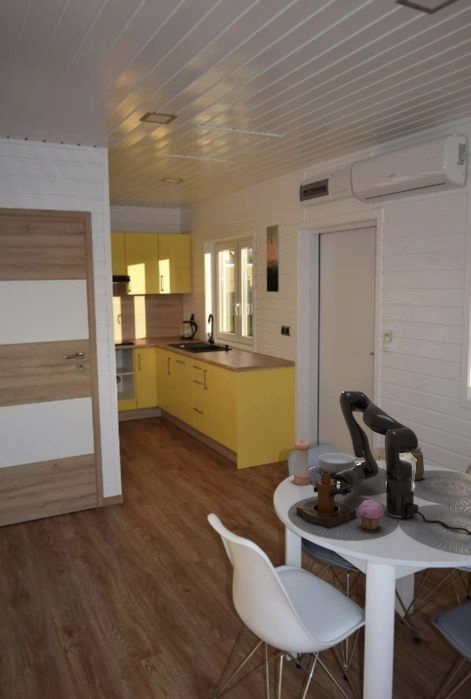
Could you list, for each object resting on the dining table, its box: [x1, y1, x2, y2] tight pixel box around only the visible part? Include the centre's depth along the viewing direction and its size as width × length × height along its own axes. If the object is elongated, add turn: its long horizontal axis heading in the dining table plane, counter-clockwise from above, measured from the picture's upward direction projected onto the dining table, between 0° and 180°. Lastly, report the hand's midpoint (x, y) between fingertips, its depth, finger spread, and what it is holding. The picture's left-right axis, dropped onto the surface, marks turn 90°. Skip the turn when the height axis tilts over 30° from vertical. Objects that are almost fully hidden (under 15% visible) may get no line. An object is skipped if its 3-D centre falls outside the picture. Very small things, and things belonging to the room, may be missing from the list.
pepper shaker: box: [293, 439, 311, 486], centre depth 257 cm, size 7×7×19 cm
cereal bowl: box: [318, 452, 356, 475], centre depth 270 cm, size 17×17×7 cm
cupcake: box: [357, 499, 384, 531], centre depth 208 cm, size 9×9×10 cm
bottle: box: [316, 470, 336, 513], centre depth 219 cm, size 6×6×17 cm
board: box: [296, 499, 357, 529], centre depth 220 cm, size 18×18×3 cm
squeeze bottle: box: [410, 445, 425, 481], centre depth 260 cm, size 8×8×18 cm
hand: (322, 492), depth 217 cm, fingers closed on bottle, 6 cm apart
